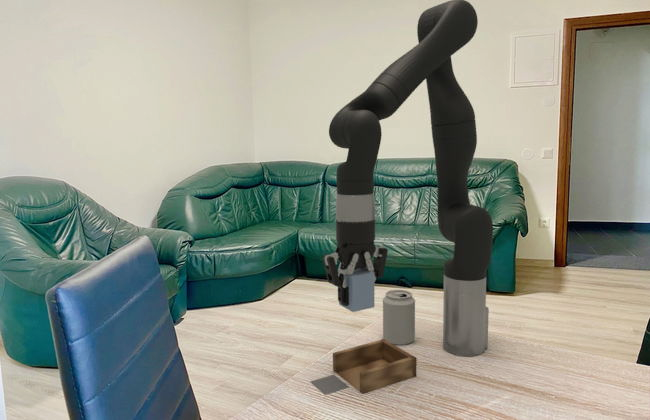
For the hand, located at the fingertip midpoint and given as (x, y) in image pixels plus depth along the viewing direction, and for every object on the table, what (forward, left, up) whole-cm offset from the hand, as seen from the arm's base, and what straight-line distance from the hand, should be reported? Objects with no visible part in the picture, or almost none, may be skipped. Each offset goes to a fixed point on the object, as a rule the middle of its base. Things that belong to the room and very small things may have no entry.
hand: (356, 301), depth 98 cm
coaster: (+6, -1, -17) cm, 18 cm away
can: (-19, -11, -17) cm, 27 cm away
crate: (-4, 0, -17) cm, 17 cm away
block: (0, 0, -1) cm, 1 cm away
